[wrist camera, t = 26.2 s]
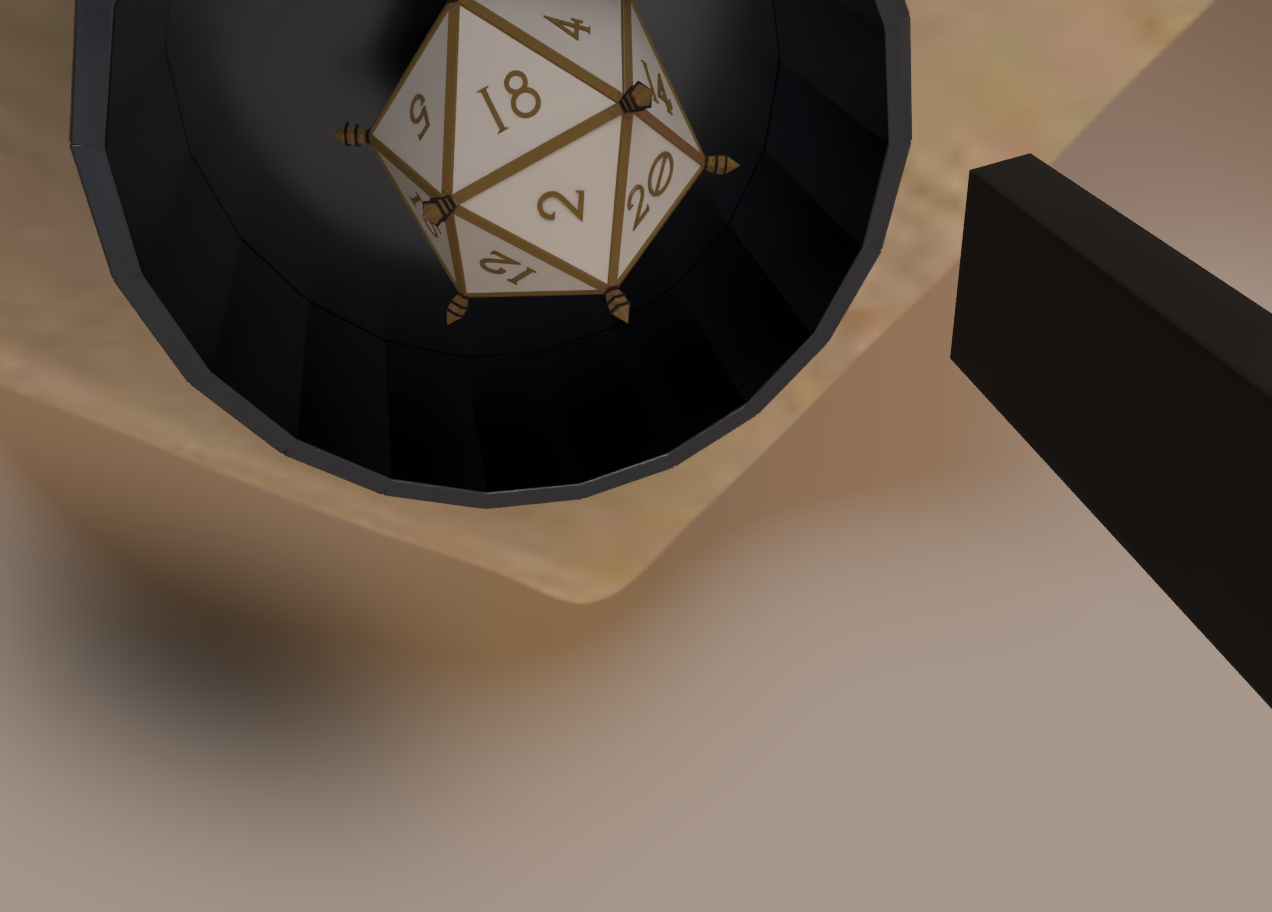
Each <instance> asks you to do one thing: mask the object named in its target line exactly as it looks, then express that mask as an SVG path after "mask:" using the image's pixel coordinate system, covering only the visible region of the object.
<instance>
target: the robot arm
mask: <svg viewBox="0 0 1272 912" xmlns="http://www.w3.org/2000/svg"><path fill="white" fill-rule="evenodd" d="M950 358H951V360H952V361H953V362H954V363H955V364H956V365H957V366H958V367H959V368H960V369H961V371H962V372H963V373H964V374H965V375H966V376H967V377H968V378H969V379H970V380H971V381H972V382H973V384H974V385H975V386H976V387H977V388H978V389H979V390H980V391H981V392H982V393H983V395H985V397H986V398H987V399H988V400H989V401H990V402H991V403H992V404H993V405H994V407H995V408H996V409H997V410H998V411H999V412H1000V413H1001V414H1002V415H1003V416H1004V417H1005V419H1006V420H1007V421H1008V422H1009V423H1010V424H1011V425H1012V426H1013V427H1014V428H1015V429H1016V431H1017V432H1018V433H1019V434H1020V435H1021V436H1022V437H1023V438H1024V439H1025V440H1026V441H1027V442H1028V443H1029V445H1030V446H1031V447H1032V448H1033V449H1034V450H1035V451H1036V452H1037V453H1038V454H1039V456H1040V457H1041V458H1042V459H1043V460H1044V461H1045V462H1046V463H1047V464H1048V465H1049V466H1050V467H1051V468H1052V470H1053V471H1054V472H1055V473H1056V474H1057V475H1058V476H1059V477H1060V478H1061V480H1063V482H1064V483H1065V484H1066V485H1067V486H1068V487H1069V488H1070V489H1071V490H1072V492H1074V494H1075V495H1076V496H1077V497H1078V498H1079V499H1080V500H1081V501H1082V502H1083V504H1084V505H1085V506H1086V507H1087V508H1088V509H1089V510H1090V511H1091V512H1092V513H1093V514H1094V516H1096V518H1097V519H1098V520H1099V521H1100V522H1101V523H1102V524H1103V525H1104V526H1105V527H1106V528H1107V530H1108V531H1109V532H1110V533H1111V534H1112V535H1113V536H1114V537H1115V538H1116V539H1117V541H1118V542H1119V543H1120V544H1121V545H1122V546H1123V547H1124V548H1125V549H1126V550H1127V552H1128V553H1129V554H1130V555H1131V556H1132V557H1133V558H1134V559H1135V560H1136V561H1137V562H1138V563H1139V565H1140V566H1142V568H1143V569H1144V570H1145V571H1146V572H1147V573H1148V574H1149V575H1150V577H1152V579H1153V580H1154V581H1155V582H1156V583H1157V584H1158V585H1159V586H1160V587H1161V589H1162V590H1163V591H1164V592H1165V593H1166V594H1167V595H1168V596H1169V597H1170V598H1171V599H1172V601H1174V603H1175V604H1176V605H1177V606H1178V607H1179V608H1180V609H1181V610H1182V611H1183V613H1184V614H1185V615H1186V616H1187V617H1188V618H1189V619H1190V620H1191V621H1192V622H1193V623H1194V625H1195V626H1196V627H1197V628H1198V629H1199V630H1200V631H1201V632H1202V633H1203V634H1204V635H1205V636H1206V638H1207V639H1209V641H1210V642H1211V643H1212V644H1213V645H1214V646H1215V647H1216V649H1218V651H1219V652H1220V653H1221V654H1222V655H1223V656H1224V657H1225V658H1226V659H1227V660H1228V662H1229V663H1230V664H1231V665H1232V666H1233V667H1234V668H1235V669H1236V670H1237V671H1238V673H1239V674H1240V675H1241V676H1242V677H1243V678H1244V679H1245V680H1246V681H1247V682H1248V683H1249V684H1250V686H1251V687H1252V688H1253V689H1254V690H1255V691H1256V692H1257V693H1258V694H1259V695H1260V696H1261V697H1262V699H1263V700H1264V701H1265V702H1266V703H1267V704H1268V705H1269V706H1270V707H1271V708H1272V313H1270V312H1269V311H1267V310H1266V309H1264V308H1262V307H1261V306H1260V305H1258V304H1257V303H1255V302H1254V301H1252V300H1250V299H1249V298H1247V297H1246V296H1244V295H1243V294H1241V293H1240V292H1238V291H1237V290H1235V289H1234V288H1232V287H1231V286H1229V285H1228V284H1226V283H1225V282H1223V281H1222V280H1220V279H1219V278H1217V277H1216V276H1214V275H1213V274H1211V273H1210V272H1208V271H1207V270H1205V269H1204V268H1202V267H1201V266H1199V265H1198V264H1196V263H1195V262H1193V261H1192V260H1190V259H1189V258H1187V257H1186V256H1184V255H1183V254H1181V253H1180V252H1178V251H1177V250H1175V249H1173V248H1172V247H1170V246H1169V245H1167V244H1166V243H1165V242H1163V241H1162V240H1160V239H1159V238H1157V237H1156V236H1154V235H1153V234H1151V233H1150V232H1148V231H1147V230H1145V229H1143V228H1142V227H1141V226H1139V225H1137V224H1136V223H1135V222H1133V221H1131V220H1130V219H1128V218H1127V217H1125V216H1124V215H1122V214H1121V213H1119V212H1118V211H1116V210H1115V209H1113V208H1112V207H1110V206H1109V205H1107V204H1106V203H1104V202H1103V201H1101V200H1100V199H1098V198H1097V197H1095V196H1094V195H1092V194H1090V193H1089V192H1088V191H1086V190H1085V189H1083V188H1082V187H1080V186H1079V185H1077V184H1076V183H1074V182H1073V181H1071V180H1070V179H1068V178H1067V177H1065V176H1064V175H1062V174H1061V173H1059V172H1058V171H1056V170H1055V169H1053V168H1052V167H1050V166H1049V165H1047V164H1046V163H1044V162H1043V161H1041V160H1040V159H1038V158H1037V157H1035V156H1034V155H1032V154H1031V153H1030V154H1026V155H1022V156H1019V157H1015V158H1012V159H1008V160H1004V161H1001V162H997V163H994V164H990V165H986V166H983V167H979V168H976V169H972V170H970V171H969V181H968V191H967V200H966V210H965V220H964V229H963V239H962V249H961V258H960V268H959V278H958V288H957V297H956V307H955V316H954V327H953V336H952V346H951V355H950Z"/></svg>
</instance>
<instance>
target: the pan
mask: <svg viewBox="0 0 1272 912" xmlns="http://www.w3.org/2000/svg"><path fill="white" fill-rule="evenodd" d="M447 1H448V0H75V16H74V39H73V63H72V87H71V110H70V134H69V140H70V143H71V144H70V149H71V152H72V155H73V158H74V161H75V164H76V167H77V170H78V173H79V177H80V180H81V183H82V186H83V189H84V192H85V195H86V198H87V201H88V205H89V208H90V211H91V214H92V217H93V220H94V223H95V226H96V229H97V233H98V236H99V239H100V242H101V245H102V248H103V251H104V254H105V257H106V261H107V264H108V267H109V270H110V273H111V276H112V278H113V279H114V282H115V283H116V285H117V286H118V287H119V289H120V290H121V292H122V293H123V294H124V296H125V297H126V298H127V300H128V301H129V302H130V304H131V305H132V307H133V308H134V309H135V311H136V312H137V313H138V315H139V316H140V318H141V319H142V320H143V322H144V323H145V324H146V326H147V327H148V328H149V330H150V331H151V333H152V334H153V335H154V337H155V338H156V339H157V341H158V342H159V344H160V345H161V346H162V348H163V349H164V350H165V352H166V353H167V355H168V356H169V357H170V359H171V360H172V361H173V363H174V364H175V365H176V367H177V368H178V370H179V371H180V372H181V374H182V375H183V376H184V378H185V379H186V381H187V382H189V383H190V384H191V385H192V386H193V387H194V388H196V389H197V390H198V391H200V392H201V393H202V394H204V395H205V396H206V397H208V398H209V399H210V400H212V401H213V402H214V403H215V404H217V405H218V406H219V407H221V408H222V409H223V410H225V411H226V412H227V413H229V414H230V415H231V416H233V417H234V418H235V419H237V420H238V421H239V422H240V423H242V424H243V425H244V426H246V427H247V428H248V429H250V430H251V431H252V432H254V433H255V434H256V435H258V436H259V437H260V438H262V439H263V440H264V441H266V442H267V443H268V444H269V445H271V446H272V447H273V448H275V449H276V450H277V451H279V452H280V453H283V454H284V455H285V456H288V457H290V458H293V459H295V460H298V461H300V462H303V463H305V464H308V465H310V466H313V467H315V468H318V469H320V470H323V471H325V472H327V473H330V474H332V475H335V476H337V477H340V478H342V479H345V480H347V481H350V482H352V483H355V484H357V485H360V486H362V487H365V488H367V489H370V490H372V491H375V492H377V493H380V494H384V495H386V496H393V497H400V498H408V499H415V500H423V501H430V502H437V503H445V504H452V505H460V506H467V507H474V508H482V509H483V508H485V509H490V508H500V507H509V506H519V505H529V504H539V503H548V502H558V501H568V500H577V499H582V498H586V497H589V496H592V495H595V494H598V493H601V492H604V491H607V490H610V489H613V488H615V487H618V486H621V485H624V484H627V483H630V482H633V481H636V480H639V479H641V478H644V477H647V476H650V475H653V474H656V473H659V472H662V471H665V470H667V469H670V468H673V467H674V466H677V465H678V464H680V463H682V462H683V461H685V460H686V459H688V458H689V457H691V456H693V455H694V454H696V453H697V452H699V451H701V450H702V449H704V448H705V447H707V446H708V445H710V444H712V443H713V442H715V441H716V440H718V439H720V438H721V437H723V436H724V435H726V434H728V433H729V432H731V431H732V430H734V429H735V428H737V427H739V426H740V425H742V424H743V423H745V422H747V421H748V420H750V419H751V418H753V417H754V416H756V414H759V413H760V412H761V411H762V410H763V409H764V408H765V407H766V406H767V405H768V403H769V402H770V401H771V400H772V399H773V398H774V397H775V396H776V395H777V394H778V393H779V392H780V391H781V390H782V389H783V388H784V387H785V386H786V385H787V384H788V383H789V382H790V381H791V380H792V379H793V378H794V377H795V376H796V375H797V374H798V373H799V372H800V371H801V370H802V369H803V368H804V367H805V366H806V365H807V364H808V363H809V361H810V360H811V359H812V358H813V357H814V356H815V355H816V354H817V353H818V352H819V351H820V350H821V349H822V348H823V347H824V346H825V345H826V344H827V342H828V341H829V340H830V338H831V337H832V335H833V333H834V332H835V330H836V328H837V326H838V325H839V323H840V321H841V320H842V318H843V316H844V314H845V313H846V311H847V309H848V308H849V306H850V304H851V302H852V301H853V299H854V297H855V296H856V294H857V292H858V290H859V289H860V287H861V285H862V284H863V282H864V280H865V279H866V277H867V275H868V273H869V272H870V270H871V268H872V267H873V265H874V263H875V261H876V260H877V258H878V256H879V255H880V253H881V249H882V247H883V243H884V239H885V236H886V232H887V228H888V225H889V221H890V217H891V214H892V210H893V207H894V203H895V199H896V196H897V192H898V188H899V185H900V181H901V177H902V174H903V170H904V166H905V163H906V159H907V155H908V152H909V148H910V144H911V140H912V110H911V43H910V17H909V11H908V8H907V5H906V2H905V0H633V1H634V3H635V6H636V8H637V10H638V12H639V14H640V16H641V19H642V21H643V23H644V25H645V27H646V30H647V32H648V34H649V36H650V38H651V40H652V43H653V45H654V47H655V49H656V51H657V53H658V56H659V58H660V60H661V62H662V64H663V67H664V69H665V71H666V73H667V75H668V77H669V80H670V82H671V84H672V86H673V88H674V91H675V93H676V95H677V97H678V99H679V101H680V104H681V106H682V108H683V110H684V112H685V114H686V117H687V119H688V121H689V123H690V125H691V128H692V130H693V132H694V134H695V136H696V138H697V141H698V143H699V145H700V147H701V149H702V151H703V154H704V156H706V157H709V156H714V154H718V156H723V154H728V157H729V158H731V159H732V160H733V161H735V162H736V163H738V164H739V165H740V166H739V167H737V168H735V169H733V170H732V171H730V172H728V173H726V174H725V176H724V177H722V174H715V176H714V175H713V173H711V172H709V171H707V170H705V171H702V172H701V174H700V175H699V176H698V178H697V179H696V181H695V182H694V183H693V185H692V186H691V187H690V189H689V190H688V192H687V193H686V194H685V196H684V197H683V199H682V200H681V201H680V203H679V204H678V205H677V207H676V208H675V210H674V211H673V212H672V214H671V215H670V217H669V218H668V219H667V221H666V222H665V223H664V225H663V226H662V228H661V229H660V230H659V232H658V233H657V234H656V236H655V237H654V239H653V240H652V241H651V243H650V244H649V246H648V247H647V248H646V250H645V251H644V252H643V254H642V255H641V257H640V258H639V259H638V261H637V262H636V263H635V265H634V266H633V268H632V269H631V270H630V272H629V273H628V275H627V276H626V277H625V279H624V280H623V281H622V283H621V284H620V286H619V287H618V289H619V290H620V291H621V292H622V293H626V299H627V301H630V302H631V305H630V309H629V316H628V323H626V322H625V321H623V320H621V319H620V318H618V317H616V316H613V315H610V314H609V312H610V309H609V307H608V306H606V305H605V303H606V302H607V300H606V295H605V294H590V295H550V296H511V297H471V298H470V299H469V300H468V307H469V310H466V311H465V313H464V315H465V318H460V319H458V320H456V321H454V322H452V323H450V324H448V325H447V310H446V309H445V308H446V306H447V305H449V304H450V303H451V302H450V299H451V298H452V297H453V298H454V297H455V296H456V295H457V292H458V291H457V289H456V287H455V286H454V284H453V282H452V281H451V279H450V277H449V276H448V274H447V272H446V271H445V269H444V267H443V266H442V264H441V262H440V261H439V259H438V257H437V256H436V254H435V252H434V250H433V249H432V247H431V245H430V244H429V242H428V240H427V239H426V237H425V235H424V234H423V232H422V230H421V229H420V227H419V225H418V224H417V222H416V220H415V219H414V217H413V215H412V214H411V212H410V210H409V209H408V207H407V205H406V204H405V202H404V200H403V199H402V197H401V195H400V194H399V192H398V190H397V189H396V187H395V185H394V184H393V182H392V180H391V179H390V177H389V175H388V174H387V172H386V170H385V169H384V167H383V165H382V164H381V162H380V160H379V159H378V157H377V155H376V154H375V152H374V150H373V149H372V147H371V145H370V144H368V143H365V144H361V146H355V145H354V144H351V146H345V143H343V142H342V141H340V140H339V139H337V138H336V137H334V136H333V135H331V133H333V132H334V131H336V130H338V129H339V128H341V127H343V126H344V125H345V124H346V122H349V125H356V123H358V124H359V126H360V127H363V128H365V129H370V128H371V127H372V125H373V123H374V122H375V120H376V118H377V117H378V115H379V113H380V112H381V110H382V108H383V107H384V105H385V103H386V102H387V100H388V98H389V97H390V95H391V93H392V92H393V90H394V88H395V87H396V85H397V83H398V82H399V80H400V79H401V77H402V75H403V74H404V72H405V70H406V69H407V67H408V65H409V64H410V62H411V60H412V59H413V57H414V55H415V54H416V52H417V50H418V49H419V47H420V45H421V44H422V42H423V40H424V39H425V37H426V35H427V34H428V32H429V30H430V29H431V27H432V25H433V24H434V22H435V20H436V19H437V17H438V15H439V14H440V12H441V11H442V9H443V7H444V6H445V4H446V2H447Z"/></svg>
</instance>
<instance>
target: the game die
mask: <svg viewBox="0 0 1272 912" xmlns="http://www.w3.org/2000/svg"><path fill="white" fill-rule="evenodd" d="M331 135H333V136H334V137H336V138H337V139H339V140H340V141H342V142H343V143H345V146H351V144H354V145H355V146H361V144H365V143H368V144H370V145H371V147H372V149H373V150H374V152H375V154H376V155H377V157H378V159H379V160H380V162H381V164H382V165H383V167H384V169H385V170H386V172H387V174H388V175H389V177H390V179H391V180H392V182H393V184H394V185H395V187H396V189H397V190H398V192H399V194H400V195H401V197H402V199H403V200H404V202H405V204H406V205H407V207H408V209H409V210H410V212H411V214H412V215H413V217H414V219H415V220H416V222H417V224H418V225H419V227H420V229H421V230H422V232H423V234H424V235H425V237H426V239H427V240H428V242H429V244H430V245H431V247H432V249H433V250H434V252H435V254H436V256H437V257H438V259H439V261H440V262H441V264H442V266H443V267H444V269H445V271H446V272H447V274H448V276H449V277H450V279H451V281H452V282H453V284H454V286H455V287H456V289H457V291H458V292H457V295H456V296H455V297H454V298H453V297H452V298H451V299H450V302H451V303H450V304H449V305H447V306H446V308H445V309H446V310H447V325H448V324H450V323H452V322H454V321H456V320H458V319H460V318H465V315H464V313H465V311H466V310H469V307H468V300H469V299H470V298H471V297H511V296H550V295H590V294H605V295H606V300H607V302H606V303H605V305H606V306H608V307H609V309H610V312H609V314H610V315H613V316H616V317H618V318H620V319H621V320H623V321H625V322H626V323H628V316H629V309H630V305H631V302H630V301H627V299H626V293H622V292H621V291H620V290H619V289H618V287H619V286H620V284H621V283H622V281H623V280H624V279H625V277H626V276H627V275H628V273H629V272H630V270H631V269H632V268H633V266H634V265H635V263H636V262H637V261H638V259H639V258H640V257H641V255H642V254H643V252H644V251H645V250H646V248H647V247H648V246H649V244H650V243H651V241H652V240H653V239H654V237H655V236H656V234H657V233H658V232H659V230H660V229H661V228H662V226H663V225H664V223H665V222H666V221H667V219H668V218H669V217H670V215H671V214H672V212H673V211H674V210H675V208H676V207H677V205H678V204H679V203H680V201H681V200H682V199H683V197H684V196H685V194H686V193H687V192H688V190H689V189H690V187H691V186H692V185H693V183H694V182H695V181H696V179H697V178H698V176H699V175H700V174H701V172H702V171H705V170H707V171H709V172H711V173H713V175H714V176H715V174H722V177H724V176H725V174H726V173H728V172H730V171H732V170H733V169H735V168H737V167H739V166H740V165H739V164H738V163H736V162H735V161H733V160H732V159H731V158H729V157H728V154H723V156H718V154H714V156H709V157H706V156H704V154H703V151H702V149H701V147H700V145H699V143H698V141H697V138H696V136H695V134H694V132H693V130H692V128H691V125H690V123H689V121H688V119H687V117H686V114H685V112H684V110H683V108H682V106H681V104H680V101H679V99H678V97H677V95H676V93H675V91H674V88H673V86H672V84H671V82H670V80H669V77H668V75H667V73H666V71H665V69H664V67H663V64H662V62H661V60H660V58H659V56H658V53H657V51H656V49H655V47H654V45H653V43H652V40H651V38H650V36H649V34H648V32H647V30H646V27H645V25H644V23H643V21H642V19H641V16H640V14H639V12H638V10H637V8H636V6H635V3H634V1H633V0H448V1H447V2H446V4H445V6H444V7H443V9H442V11H441V12H440V14H439V15H438V17H437V19H436V20H435V22H434V24H433V25H432V27H431V29H430V30H429V32H428V34H427V35H426V37H425V39H424V40H423V42H422V44H421V45H420V47H419V49H418V50H417V52H416V54H415V55H414V57H413V59H412V60H411V62H410V64H409V65H408V67H407V69H406V70H405V72H404V74H403V75H402V77H401V79H400V80H399V82H398V83H397V85H396V87H395V88H394V90H393V92H392V93H391V95H390V97H389V98H388V100H387V102H386V103H385V105H384V107H383V108H382V110H381V112H380V113H379V115H378V117H377V118H376V120H375V122H374V123H373V125H372V127H371V128H370V129H365V128H363V127H360V126H359V124H358V123H356V125H349V122H346V124H345V125H344V126H343V127H341V128H339V129H338V130H336V131H334V132H333V133H331Z"/></svg>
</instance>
